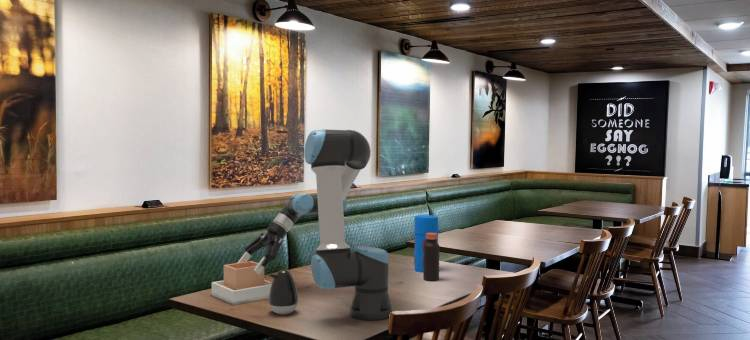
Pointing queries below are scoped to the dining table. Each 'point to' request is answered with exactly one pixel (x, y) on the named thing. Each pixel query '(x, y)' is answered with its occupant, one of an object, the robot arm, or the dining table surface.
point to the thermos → (423, 237)
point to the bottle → (431, 258)
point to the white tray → (241, 293)
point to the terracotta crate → (242, 276)
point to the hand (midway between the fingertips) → (247, 269)
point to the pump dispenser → (283, 293)
